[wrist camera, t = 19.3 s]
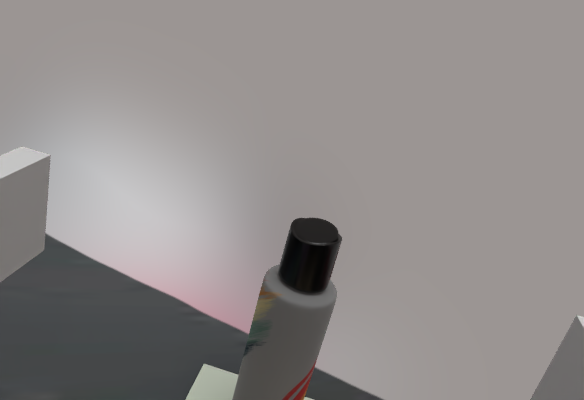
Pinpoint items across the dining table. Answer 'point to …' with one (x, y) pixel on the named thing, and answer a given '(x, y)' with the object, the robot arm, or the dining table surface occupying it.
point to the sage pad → (214, 385)
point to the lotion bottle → (291, 315)
